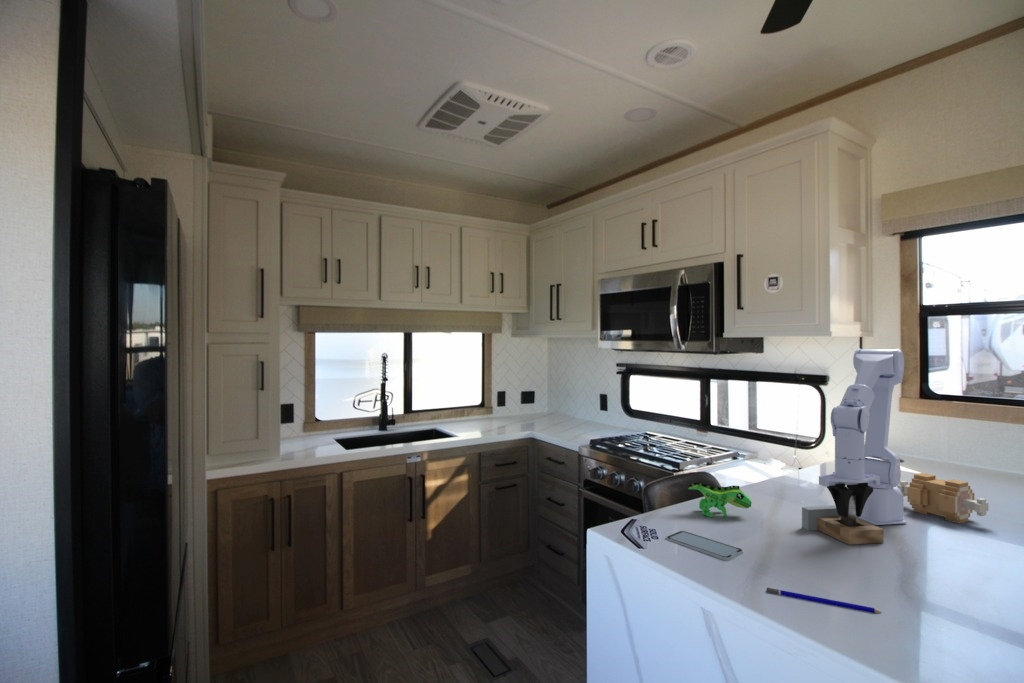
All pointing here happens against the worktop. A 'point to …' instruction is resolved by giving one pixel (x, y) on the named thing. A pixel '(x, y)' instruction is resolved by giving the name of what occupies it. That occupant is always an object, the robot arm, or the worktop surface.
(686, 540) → the smartphone
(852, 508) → the dowel
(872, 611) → the pencil
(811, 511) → the wall
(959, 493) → the voxel meat on bone
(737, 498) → the toy
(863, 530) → the block
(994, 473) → the worktop surface
